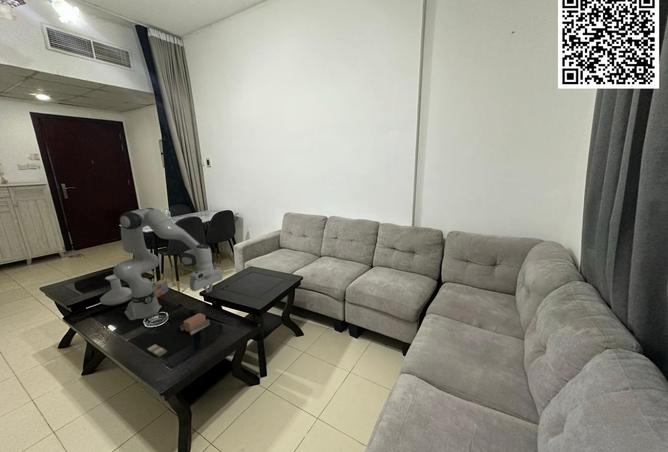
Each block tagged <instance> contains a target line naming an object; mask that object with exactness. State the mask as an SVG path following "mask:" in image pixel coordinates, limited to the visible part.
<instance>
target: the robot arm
mask: <svg viewBox="0 0 668 452" xmlns="http://www.w3.org/2000/svg"><path fill="white" fill-rule="evenodd" d="M119 223H120V236H121V242H122V243H121V245H122V247H123V251H125V252H126V253H128V254H133V256H134V257H132V258H130V259H127V260H124V261H121V262H120V263H119V262H118V263H117V264H116V265H114V267H113V271H112V273H113V275H115V276H116V277H117V278H119V279H120V280H122V281H124V282H126V283H127V284H128V286H129V288H130V289H131V292H132V296H131V297H132V298H131V299H130V302H129V303H128V304H127V306H126V310H125V311H124V314H125V316H126V317H127V318H128V320H130V321H134V320H139V319H141V320H142V319H145V318H150V317H151V315H152V316H154V315H156V314H158V312H159V311H160V309H161V308H162V305H161V304H160V303H159V300H158V297H155V296H154V291H153V290H152V284H151V281H152V280H151V279H150V278H146V277H142V274H144V273H147V272H150V271H152V270H153V269H156V268H157V267H158V266H159V264H160V259H159V257H158V256H157V255H156V254H154V253H151V252H150V251H149V250H148V248H147V246H146V242H145V238H144V230H143V228H145V227H147V226H148V227H149V228H150V229H151V231H153V233H154V234H155V235H156V236H157V237H159V238H161V239H163V240H178V241H181V242H183V243H184V244H185V245H186V246H187V247H188V248H190V249H188V250H186V251H184V252H182V253H181V255H180V257H179V259H180V262H181V264H182V265H183V266H185V267H188V268H189V267H194V266H196V269H195V270H194V271H192V272H191V273H190V274H189V278H190V279H189V289H190V291H193V292H197V291H200V290H202V289H204V291H205V293H206V294H208V293H211V292H212V288H213V286H214V285H213V284H216V283H218V282H220V281H222V280H223V279H224V275H223V273H222V268H221V267H220V266H215V267H214V264H213V253H212V250H211V247H210V246H209V245H208V244H206V243H205V244H204V243H201V242H199V241H198V240H197V239H196V238H195V237H193V235H192V234H190V233H189V232H188V231H187V230H185V228H184V229H183V227H180V226H178V225H177V224H176V223H174V221H172V220H171V218H170V217H168V216H167V215H166V214H165V213H164V212H163V211H161V210H159V209H157V208H154V207H153V208H152V207H147V208H139V209H138V208H137V209H136V210H131V211H126V212H124V213H121V215H120V217H119ZM153 314H154V315H153Z"/></svg>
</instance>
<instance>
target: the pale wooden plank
mask: <svg viewBox="0 0 668 452" xmlns="http://www.w3.org/2000/svg"><path fill="white" fill-rule="evenodd" d="M210 321H211V320H210V319H206V321H204V322H202V323H201V324H199V325H197V326H195V327H194V328H192V329H190V330H189V332H188V333H189V335H191V336H193V335H195V334H196V333H197V332H199V331H201V330H203V329H205V328H206V327H208V326H209V325H211V323H210ZM179 327H180V331H181V332H183V331H185V328H184V323H182V324H181V325H180V326H179ZM146 350H147V351H148V352H150V353H152V354H153V355H156V356H157V357H158V358H159V357H162V356H163V355H165V354H166V353H168V352H169V350H167V349H165V348H164V347H161V346H159V345H158V344H156V343H155V344H153V345H151V346H149V347H147V348H146Z"/></svg>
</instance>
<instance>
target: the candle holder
mask: <svg viewBox="0 0 668 452" xmlns="http://www.w3.org/2000/svg"><path fill="white" fill-rule="evenodd" d="M104 280H106V281H109V283H110V287H111V289H110V290H108V292H106V293H104V294H103V295H101V297H100V298H99V300H100V303H101V304H102V305H107V306H116V305H121V304H124V303H126V302H129V301H131V300H132V299H131V298H132V297H131V296H132V292H131V289H130V287H125V286H122V283H121V279H119V278H117V277H116V276H115V275H114V274H112V275H108V276H106V277H105V278H104Z"/></svg>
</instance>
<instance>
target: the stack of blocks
mask: <svg viewBox="0 0 668 452" xmlns="http://www.w3.org/2000/svg"><path fill="white" fill-rule="evenodd" d="M150 281H151V284H152V290H153V291H154V296H155V297H157V298H159V297H161V296H162V295H164V294H167V293H168V292H169V291H170V290H169V285H168V280H165V279H159V280H158V281H152V280H150Z"/></svg>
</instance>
